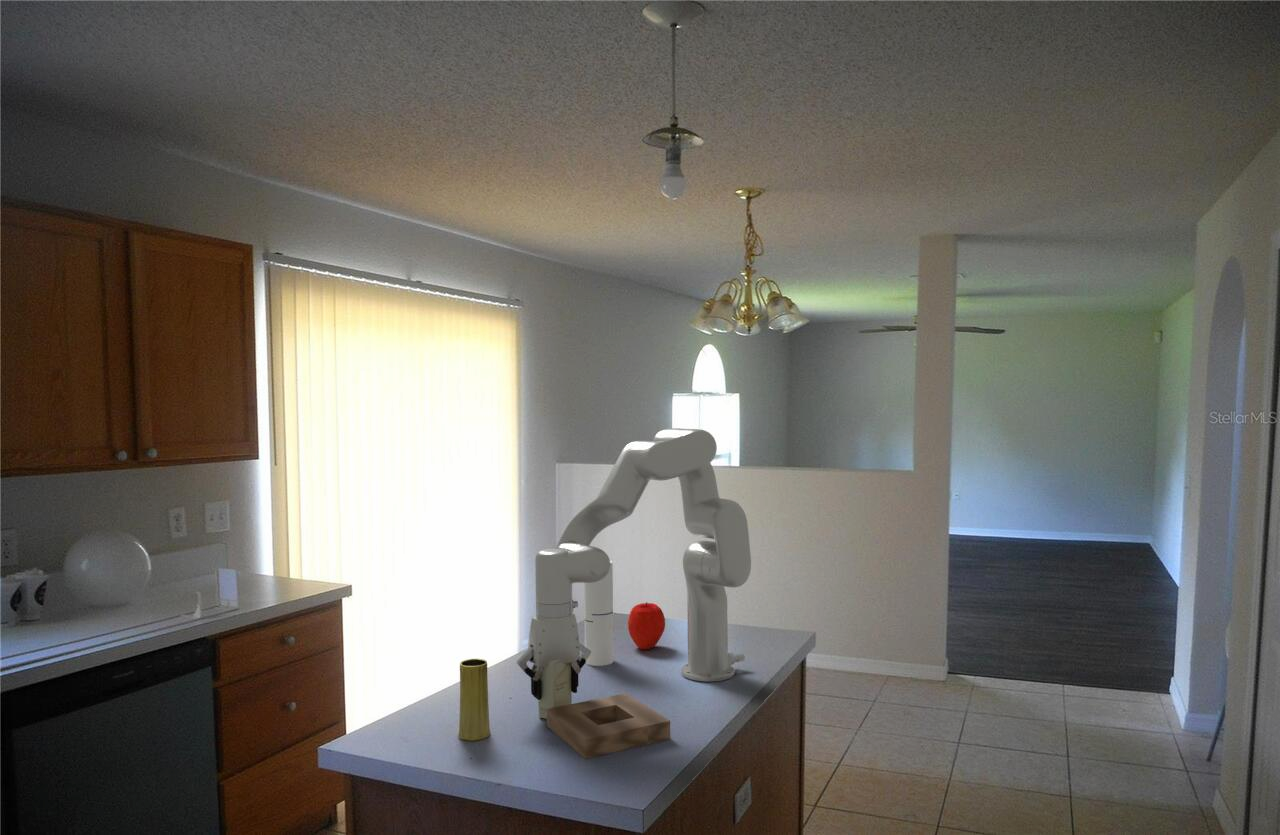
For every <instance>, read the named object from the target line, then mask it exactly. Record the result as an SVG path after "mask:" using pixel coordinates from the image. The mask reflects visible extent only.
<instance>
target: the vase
mask: <svg viewBox="0 0 1280 835" xmlns="http://www.w3.org/2000/svg"><path fill="white" fill-rule="evenodd" d="M488 682H489V681H488V661H487V660H486V659H483V658H470V659H465V660H462V661H461V662H460V663H459V726H458V727H459V729H458V734H457V735H458V738H459V739H460V740H463V741H467V742H468V741H469V742H474V741H481V740H485V739H486V738H488V737H489V736H490V735H491V731H490V730H491V728H490V712H489V711H490V710H489V688H488V687H489V685H488Z"/></svg>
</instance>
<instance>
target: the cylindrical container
mask: <svg viewBox="0 0 1280 835" xmlns="http://www.w3.org/2000/svg"><path fill="white" fill-rule="evenodd" d="M613 573H614V570H613V561H612V560H610V570H609V572H608V574H607V575H606V576H605V577H604V578H603V579H602V580H600V581H597V582H593V583H583V589H584V591H583V593H584V594H583V596H584V597H583V598H584V599H583V602H584V603H583V604H584V606H583V608H584V614H583V615H584V646H585V647H586V648H588V649H589V650H591V654H590V656H589V657H588V659H587V660H586V663H585V664H586V665H588V666H591V667H594V666H595V667H604V665H605V666H610V665H612V664H613V663H614V599H613V598H614V593H613V592H614V591H613V590H614V589H613V587H614V583H613V582H614V581H613V580H614V579H613V578H614V577H613Z"/></svg>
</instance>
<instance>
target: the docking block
mask: <svg viewBox="0 0 1280 835" xmlns="http://www.w3.org/2000/svg"><path fill="white" fill-rule="evenodd" d="M546 727H547V728H548V727H549V728H550V729H549V730H551V731H552V732H553V733H554V734H555V733H556V736H558V737H559V738H560V739H561V740H563V741H564V742H565V743H566V744H567V745H569V747H571V748H572V749H573V750H574V751H575V752H577V754H579V755H580V756H581V757H583V758H584V759H585V760H586V759H590V758H594V757H598V756H603V755H608V754H611V753H617V752H621V751H624V750H628V749H633V748H638V747H641V746H645V745H650V744H655V743H658V742H663V741H667V740H671V720H670V719H667V717H664V716H663V715H662V714H660V713H659V712H657V711H655V710H654V709H652V708H650V707H648V705H645V704H644V703H642V702H641V701H639V700H637V699H636V698H635V697H633V696H631V695H629V694H627V693H620V694H616V695H615V694H614V695H610V696H606V697H605V696H604V697H601V698H595V699H589V700H586V701H585V700H584V701H580V702H575V703H572V704H569V705H564V706H559V707H554V708H549V709H547V719H546Z"/></svg>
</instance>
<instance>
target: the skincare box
mask: <svg viewBox="0 0 1280 835" xmlns="http://www.w3.org/2000/svg"><path fill="white" fill-rule="evenodd" d="M539 679H540V680H541V681H542V699H541V700H538V718H542V719H546V720H547V709H549V708H554V707H559V706H564V705H569V704H573V703H572V702H573V700H572V696H573V695H572V691H571V664H570V663H568V664H562V662H561V659H560V660H553V661H549V666H548V667H544V669H543V671H542V673H541V675H540V677H539Z"/></svg>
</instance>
